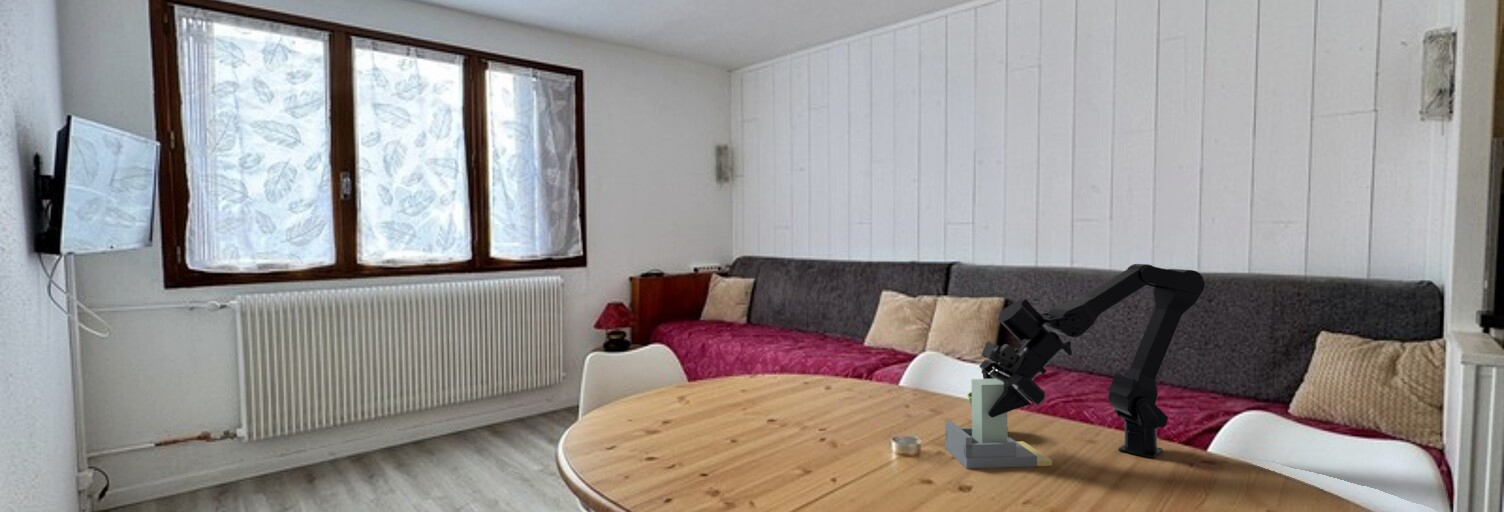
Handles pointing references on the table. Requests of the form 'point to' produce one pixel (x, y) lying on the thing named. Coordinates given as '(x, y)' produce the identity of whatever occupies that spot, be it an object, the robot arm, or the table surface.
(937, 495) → the table surface
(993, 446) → the dock
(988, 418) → the pale green tall block
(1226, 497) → the table surface
